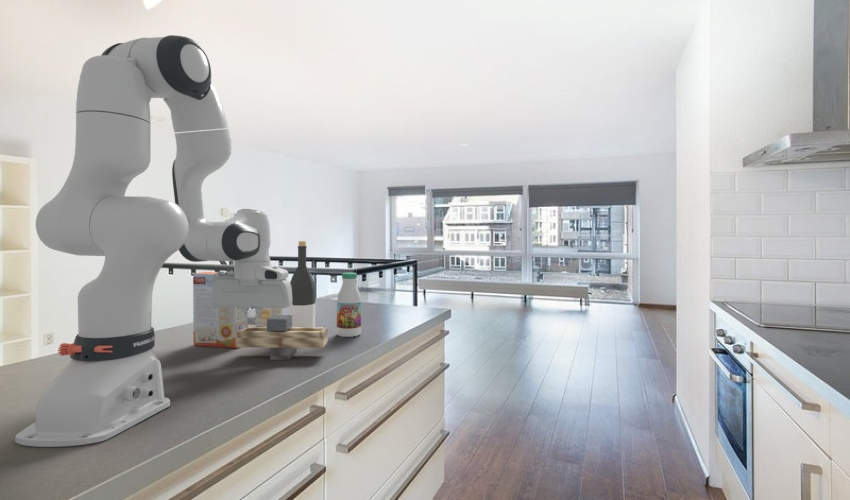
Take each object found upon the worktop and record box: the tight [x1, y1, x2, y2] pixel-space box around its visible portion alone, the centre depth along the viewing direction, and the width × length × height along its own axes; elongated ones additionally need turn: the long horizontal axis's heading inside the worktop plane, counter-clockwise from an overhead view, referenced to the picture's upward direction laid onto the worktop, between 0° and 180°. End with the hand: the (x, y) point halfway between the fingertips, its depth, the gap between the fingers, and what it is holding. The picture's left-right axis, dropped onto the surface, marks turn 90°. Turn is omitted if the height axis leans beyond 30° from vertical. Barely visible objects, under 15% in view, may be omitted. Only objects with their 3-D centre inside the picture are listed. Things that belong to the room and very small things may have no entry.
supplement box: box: [254, 308, 283, 327], centre depth 144 cm, size 8×5×13 cm, turn 58°
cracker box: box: [192, 271, 249, 349], centre depth 126 cm, size 14×6×21 cm, turn 76°
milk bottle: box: [336, 272, 362, 338], centre depth 140 cm, size 8×8×20 cm
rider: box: [267, 314, 292, 331], centre depth 116 cm, size 5×6×5 cm
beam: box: [237, 326, 329, 361], centre depth 116 cm, size 22×7×7 cm, turn 92°
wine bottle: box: [287, 240, 316, 327], centre depth 135 cm, size 8×8×30 cm
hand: (252, 324), depth 115 cm, fingers closed
